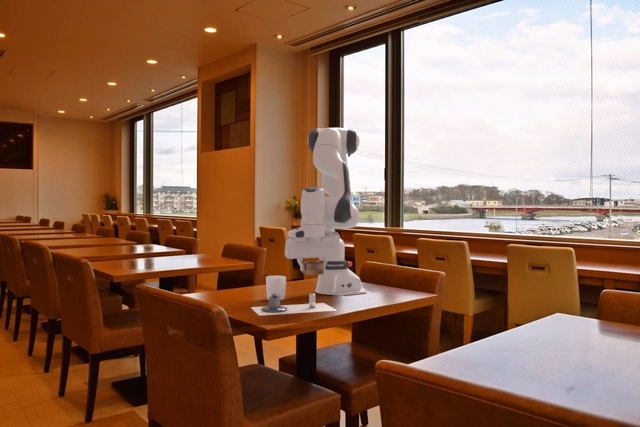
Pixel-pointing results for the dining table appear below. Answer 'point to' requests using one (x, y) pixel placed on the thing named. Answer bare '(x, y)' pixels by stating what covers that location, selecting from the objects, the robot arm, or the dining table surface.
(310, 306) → the stand rod
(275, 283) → the white cup
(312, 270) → the collar
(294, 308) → the board
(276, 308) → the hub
